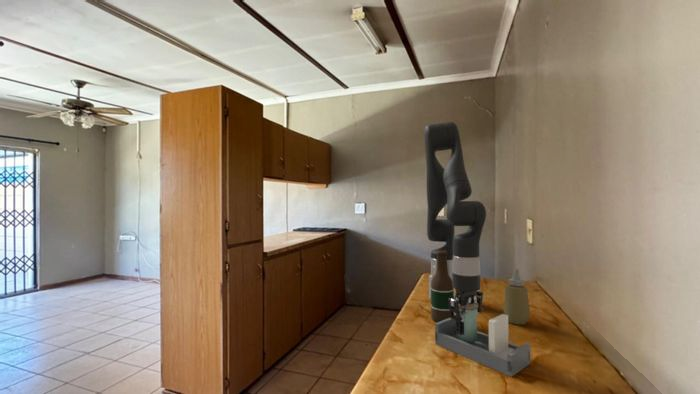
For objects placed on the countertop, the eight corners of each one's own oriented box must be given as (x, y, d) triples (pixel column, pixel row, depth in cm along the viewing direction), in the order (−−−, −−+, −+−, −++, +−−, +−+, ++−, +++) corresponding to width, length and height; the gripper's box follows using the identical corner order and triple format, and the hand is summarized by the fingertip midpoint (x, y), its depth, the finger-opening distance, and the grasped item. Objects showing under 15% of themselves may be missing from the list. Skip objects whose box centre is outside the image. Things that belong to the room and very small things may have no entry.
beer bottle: (455, 317, 115) (455, 249, 115) (452, 325, 108) (451, 253, 108) (432, 314, 118) (432, 248, 118) (428, 322, 111) (428, 251, 111)
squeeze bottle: (533, 327, 106) (533, 272, 106) (507, 325, 108) (506, 271, 107) (525, 318, 114) (525, 266, 114) (500, 316, 115) (500, 266, 115)
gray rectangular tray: (435, 344, 95) (435, 323, 95) (455, 334, 101) (455, 315, 101) (511, 376, 77) (511, 351, 77) (530, 363, 83) (530, 340, 83)
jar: (451, 337, 93) (451, 302, 93) (463, 332, 96) (463, 298, 96) (470, 344, 88) (469, 307, 88) (481, 338, 92) (481, 303, 92)
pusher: (488, 359, 83) (488, 320, 83) (502, 350, 88) (502, 313, 88) (506, 366, 80) (506, 325, 80) (519, 357, 84) (519, 318, 84)
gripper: (463, 278, 85) (463, 343, 85) (492, 270, 94) (492, 328, 94) (439, 272, 91) (439, 333, 91) (468, 265, 99) (468, 321, 100)
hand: (466, 330), depth 92 cm, fingers closed on jar, 5 cm apart
